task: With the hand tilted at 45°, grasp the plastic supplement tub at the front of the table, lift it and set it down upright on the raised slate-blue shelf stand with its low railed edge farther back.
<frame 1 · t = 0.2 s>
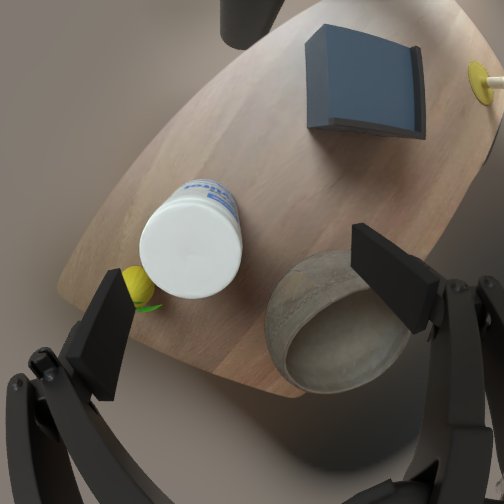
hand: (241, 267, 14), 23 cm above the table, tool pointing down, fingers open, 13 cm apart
bowl: (319, 290, 44), on the table
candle: (480, 83, 30), on the table
lemon: (143, 273, 39), on the table
supplement tub: (202, 211, 37), on the table
shelf: (349, 89, 31), on the table
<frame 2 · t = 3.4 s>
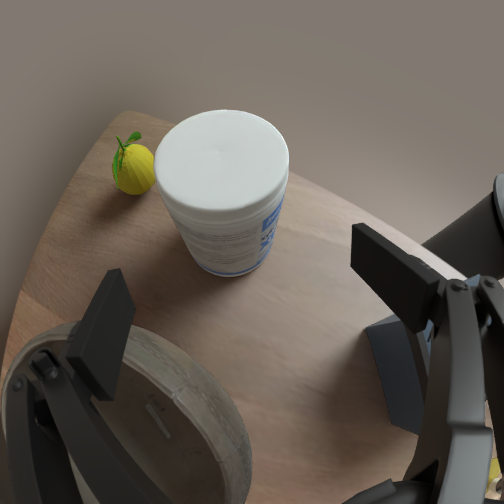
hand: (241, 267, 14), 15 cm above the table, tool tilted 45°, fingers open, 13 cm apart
bowl: (153, 421, 24), on the table
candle: (483, 481, 18), on the table
lemon: (144, 188, 33), on the table
supplement tub: (229, 237, 31), on the table
shelf: (421, 355, 26), on the table
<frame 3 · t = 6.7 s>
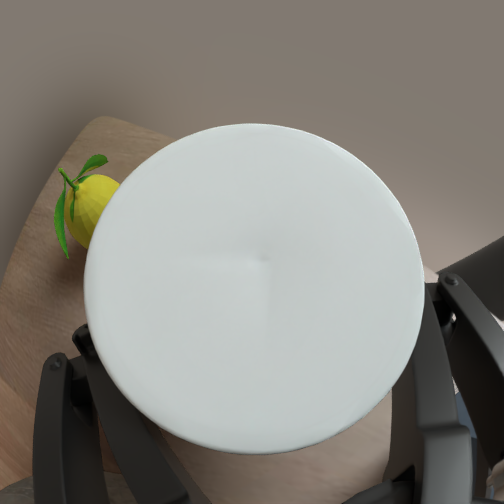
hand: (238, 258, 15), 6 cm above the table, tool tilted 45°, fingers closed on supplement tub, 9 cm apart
lemon: (119, 236, 22), on the table
supplement tub: (248, 321, 20), on the table, touching gripper
shelf: (468, 434, 16), on the table
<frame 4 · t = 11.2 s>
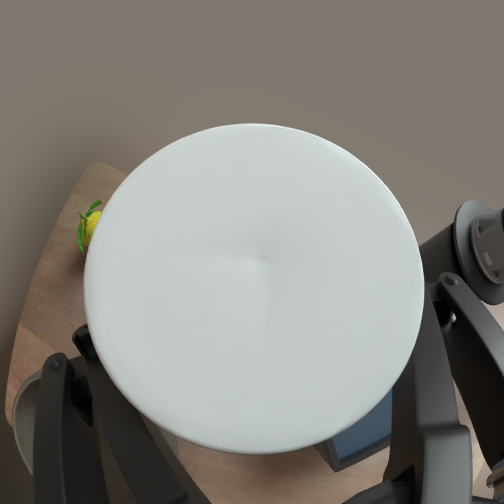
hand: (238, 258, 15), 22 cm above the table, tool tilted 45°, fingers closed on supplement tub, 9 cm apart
bowl: (122, 428, 29), on the table
lemon: (110, 242, 38), on the table
supplement tub: (248, 321, 20), point 15 cm above the table, touching gripper
shelf: (344, 391, 32), on the table
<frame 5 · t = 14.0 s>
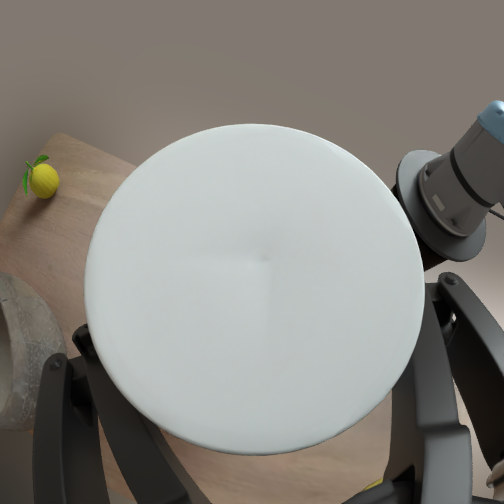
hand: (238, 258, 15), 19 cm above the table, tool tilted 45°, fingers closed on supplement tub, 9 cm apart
bowl: (41, 355, 29), on the table
lemon: (55, 193, 39), on the table
supplement tub: (248, 321, 20), point 13 cm above the table, touching gripper
when the fingers open (14 cm above the table, at t = 16.0 s): supplement tub stays where it is, resting on shelf.
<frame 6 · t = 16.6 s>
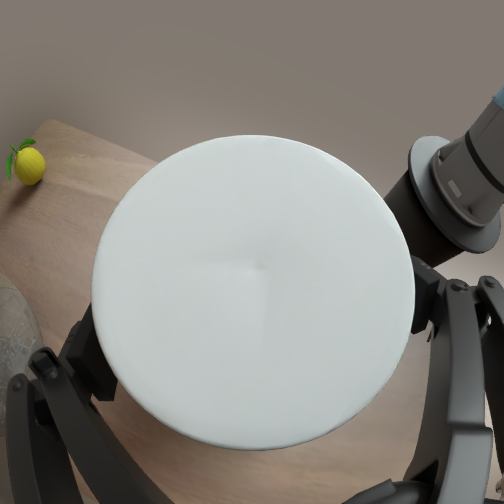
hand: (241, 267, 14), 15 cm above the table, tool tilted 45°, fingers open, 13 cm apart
bowl: (20, 354, 25), on the table
lemon: (41, 180, 34), on the table
supplement tub: (247, 323, 21), point 8 cm above the table, touching shelf
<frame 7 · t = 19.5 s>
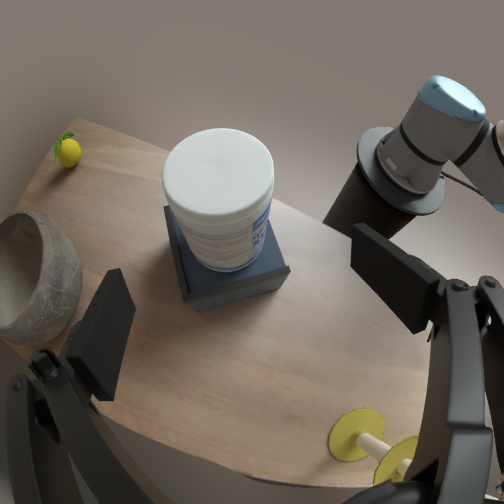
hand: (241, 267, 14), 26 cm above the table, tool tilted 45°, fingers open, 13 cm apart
bowl: (56, 291, 39), on the table
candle: (356, 435, 33), on the table
lemon: (76, 164, 48), on the table
supplement tub: (226, 237, 35), point 8 cm above the table, touching shelf
shelf: (226, 260, 42), on the table
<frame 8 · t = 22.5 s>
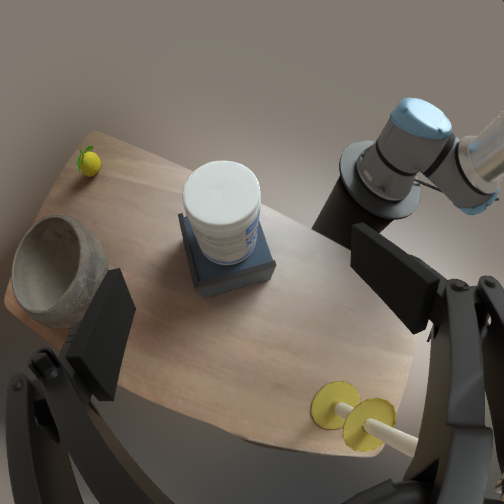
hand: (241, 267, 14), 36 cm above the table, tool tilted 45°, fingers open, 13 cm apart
bowl: (82, 283, 49), on the table
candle: (335, 405, 43), on the table
lemon: (96, 173, 58), on the table
supplement tub: (227, 239, 45), point 8 cm above the table, touching shelf
shelf: (227, 257, 52), on the table
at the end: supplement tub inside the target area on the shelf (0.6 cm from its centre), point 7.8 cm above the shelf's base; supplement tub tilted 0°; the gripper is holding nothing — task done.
